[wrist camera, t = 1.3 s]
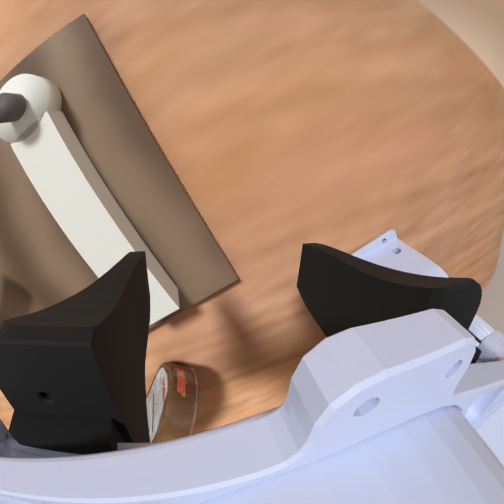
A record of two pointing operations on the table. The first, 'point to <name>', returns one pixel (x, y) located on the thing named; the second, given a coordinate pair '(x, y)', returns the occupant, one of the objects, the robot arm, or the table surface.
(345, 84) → the table surface
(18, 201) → the pivot board
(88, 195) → the pivot bar
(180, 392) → the tin
